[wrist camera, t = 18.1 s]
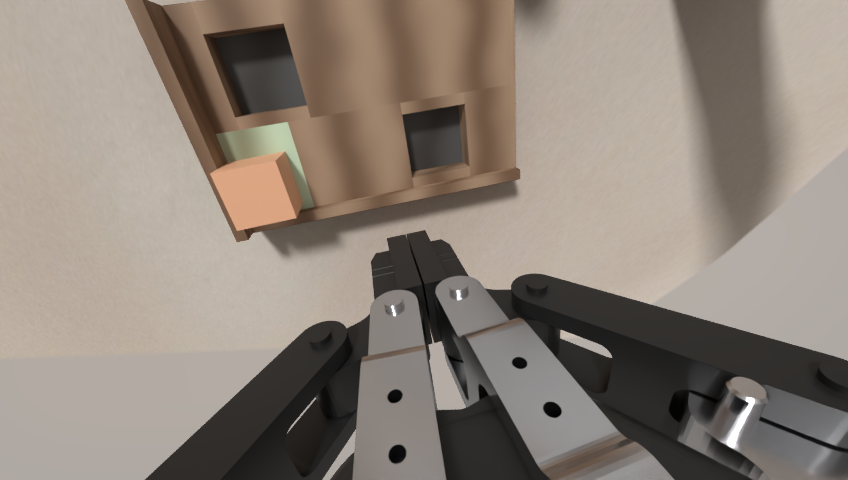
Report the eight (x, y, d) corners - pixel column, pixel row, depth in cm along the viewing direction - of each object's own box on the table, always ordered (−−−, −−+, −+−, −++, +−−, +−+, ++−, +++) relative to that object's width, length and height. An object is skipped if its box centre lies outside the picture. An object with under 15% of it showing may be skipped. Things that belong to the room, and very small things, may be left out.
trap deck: (501, -29, 28) (528, -50, 24) (506, 170, 37) (526, 182, 32) (164, 14, 25) (124, -1, 21) (252, 221, 34) (236, 242, 29)
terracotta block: (284, 151, 29) (275, 160, 26) (303, 202, 31) (296, 218, 28) (227, 162, 29) (209, 173, 25) (250, 213, 31) (236, 230, 27)
